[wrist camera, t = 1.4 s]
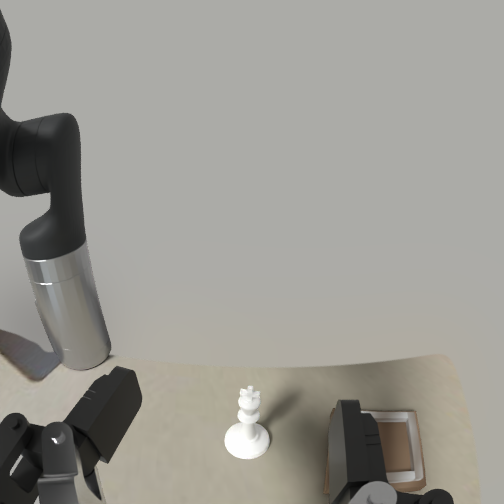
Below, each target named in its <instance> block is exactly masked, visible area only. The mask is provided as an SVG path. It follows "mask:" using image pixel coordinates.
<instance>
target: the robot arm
mask: <svg viewBox="0 0 504 504" xmlns="http://www.w3.org/2000/svg"><path fill="white" fill-rule="evenodd" d="M10 59H11V39H10V34H9V30H8V27H7V25H6V22H5V20H4V18H3V15H2V13H1V10H0V189H1V190H2V191H4V192H5V193H7V194H8V195H11V196H15V197H24V196H31V195H37V194H43V193H49V192H50V194H51V205H50V209H49V210H48V211H47V212H46V213H45V214H44V215H42V216H41V217H39V218H37V219H36V220H34V221H32V222H31V223H29V224H28V225H27V226H25V227H24V229H23V230H22V231H21V233H20V237H19V239H20V246H21V250H22V254H23V257H24V261H25V265H26V269H27V272H28V276H29V279H30V283H31V286H32V289H33V292H34V295H35V299H36V301H35V304H36V307H37V310H38V313H39V315H40V318H41V321H42V323H43V326H44V328H45V331H46V333H47V336H48V338H49V341H50V343H51V345H52V347H53V350H54V352H55V353H57V355H58V357H59V360H60V361H61V363H62V364H63V365H64V366H66V367H68V368H70V369H74V370H85V369H89V368H93V367H95V366H97V365H99V364H100V363H102V362H103V361H104V360H105V359H106V358H107V357H108V355H109V353H110V351H111V342H110V338H109V335H108V332H107V329H106V325H105V321H104V318H103V314H102V310H101V306H100V302H99V298H98V294H97V290H96V285H95V281H94V276H93V272H92V267H91V262H90V257H89V252H88V246H87V240H86V234H85V227H84V214H83V203H82V192H81V142H80V132H79V127H78V124H77V121H76V119H75V118H74V116H73V115H71V114H69V113H60V114H54V115H50V116H44V117H40V118H35V119H31V120H27V121H23V122H16V121H13V120H12V119H10V118H9V117H8V116H7V115H6V114H5V112H4V111H3V110H2V108H1V102H2V98H3V93H4V89H5V85H6V81H7V76H8V71H9V66H10ZM141 403H142V394H141V390H140V387H139V384H138V380H137V377H136V373H135V372H134V371H133V370H130V369H126V368H123V367H119V366H116V367H115V368H114V369H113V370H112V371H111V373H110V374H109V375H103V376H101V377H100V378H98V379H97V380H95V381H94V382H93V384H92V385H91V386H90V387H89V390H88V391H86V393H85V394H84V395H83V397H82V398H81V399H80V400H79V402H78V403H77V404H76V405H75V407H74V408H73V409H72V411H71V412H70V413H69V415H68V416H67V417H66V419H65V420H64V421H63V422H53V423H50V424H48V425H47V426H46V427H44V426H39V425H35V424H30V423H29V422H28V421H27V419H26V418H25V416H24V415H22V414H20V413H12V414H9V415H7V416H6V417H5V418H4V419H3V421H2V422H1V423H0V504H34V502H35V500H36V498H37V497H38V495H39V501H40V504H107V503H106V500H105V496H104V493H103V489H102V485H101V482H100V478H99V473H98V469H97V466H96V464H97V462H98V461H99V460H100V461H103V462H105V463H107V464H108V463H109V461H110V459H111V458H112V456H113V454H114V452H115V451H116V449H117V447H118V445H119V444H120V442H121V440H122V438H123V437H124V435H125V433H126V431H127V430H128V428H129V426H130V424H131V423H132V421H133V419H134V417H135V416H136V414H137V412H138V411H139V409H140V407H141ZM328 444H329V504H454V502H453V498H452V496H451V495H450V494H449V493H448V492H447V491H445V490H442V489H433V490H430V491H428V492H427V493H425V494H424V495H416V494H408V493H402V492H399V491H397V490H395V489H394V488H393V487H392V486H391V485H390V484H389V482H388V480H387V475H386V469H385V462H384V456H383V450H382V445H381V439H380V436H379V429H378V423H377V422H376V420H375V419H374V417H373V416H372V415H371V413H361V408H360V403H359V400H338V402H337V405H336V408H335V411H334V414H333V416H332V419H331V422H330V426H329V432H328ZM20 455H22V456H23V458H22V459H21V461H20V462H19V464H18V465H17V467H16V469H15V470H14V472H13V473H12V475H11V476H10V470H11V469H12V467H13V465H14V464H15V462H16V460H17V459H18V458H19V456H20Z"/></svg>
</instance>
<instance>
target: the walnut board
mask: <svg viewBox="0 0 504 504" xmlns="http://www.w3.org/2000/svg"><path fill="white" fill-rule="evenodd" d="M334 411H335V408H333V410H332V412H331V415H330V422H331V419H332V416H333V414H334ZM361 413H371V415H372V416H373V417H374V419H375V420H376V422H377V423H378V429H379V436H380V439H381V445H382V450H383V456H384V462H385V469H386V475H387V480H388V482H389V484H390V485H391V486H392V487H393V488H394V489H395V490H397V491H399V492H410V491H418V490H421V489H422V488H423V487H425V486H426V477H425V468H424V459H423V452H422V444H421V438H420V432H419V426H418V420H417V414H416V411H369V410H361ZM323 494H329V444H328V455H327V466H326V475H325V484H324V493H323Z"/></svg>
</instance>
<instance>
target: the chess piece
mask: <svg viewBox="0 0 504 504" xmlns="http://www.w3.org/2000/svg"><path fill="white" fill-rule="evenodd" d="M240 395H241V396H240V398H239V401H238V402H239V405H240V407H241V409H240V410H239V412H238V419H239V420H240V421H241V422H240V423H237V424H234V425H233V426H231V427H230V428H229V429H228V431H227V433H226V435H225V446H226V448H227V450H228V451H229V452H230V453H231V454H232V455H234V456H236V457H238V458H242V459H253V458H257V457H259V456H261V455H262V454H264V453H265V452H266V451H267V449H268V447H269V444H270V440H269V435H268V432H267V431H266V429H265V428H264V427H262V426H261V425H259V424H257V423H255V422H257V421H258V420H259V418H260V413H259V411H258V410H257V409H258V408H259V406H260V404H261V400H260V398H259V396H260V392H259V391H253V386H249V385H248V389H241V391H240Z"/></svg>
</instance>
